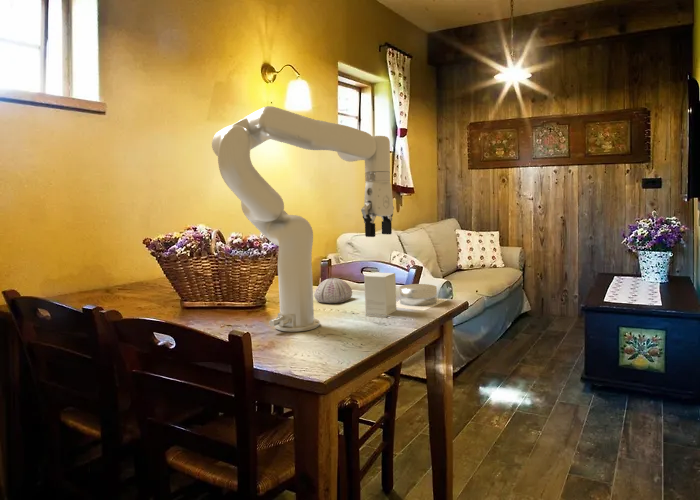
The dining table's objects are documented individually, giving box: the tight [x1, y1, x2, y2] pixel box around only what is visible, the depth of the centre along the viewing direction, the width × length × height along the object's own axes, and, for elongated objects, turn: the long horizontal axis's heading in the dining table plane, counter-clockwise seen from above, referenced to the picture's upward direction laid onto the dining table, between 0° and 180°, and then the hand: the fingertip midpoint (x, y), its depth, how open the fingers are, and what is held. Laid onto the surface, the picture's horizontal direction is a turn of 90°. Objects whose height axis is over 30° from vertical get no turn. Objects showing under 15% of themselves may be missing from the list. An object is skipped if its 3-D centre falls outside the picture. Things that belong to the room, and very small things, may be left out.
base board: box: [396, 298, 448, 311], centre depth 174 cm, size 18×14×1 cm
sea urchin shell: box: [313, 277, 353, 304], centre depth 186 cm, size 13×14×8 cm
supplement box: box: [363, 272, 398, 319], centre depth 163 cm, size 7×7×13 cm
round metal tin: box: [399, 283, 438, 306], centre depth 175 cm, size 12×12×5 cm
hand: (378, 235), depth 161 cm, fingers open, 9 cm apart
